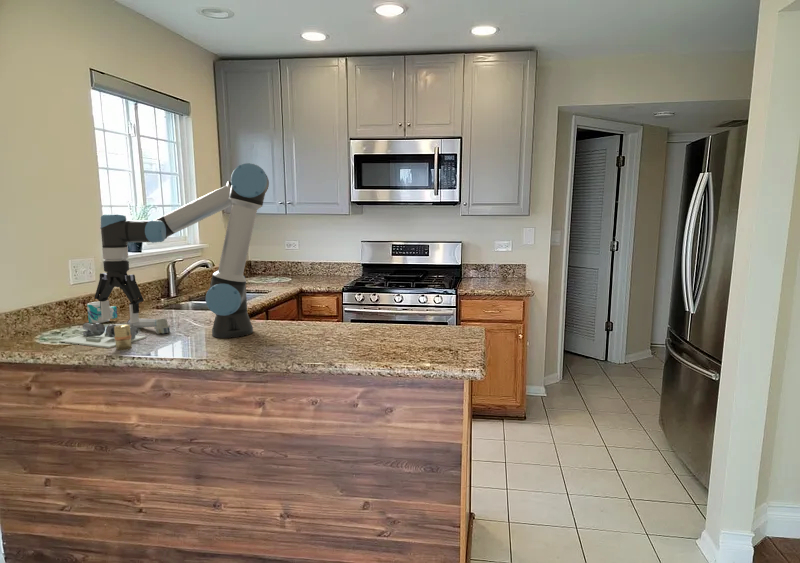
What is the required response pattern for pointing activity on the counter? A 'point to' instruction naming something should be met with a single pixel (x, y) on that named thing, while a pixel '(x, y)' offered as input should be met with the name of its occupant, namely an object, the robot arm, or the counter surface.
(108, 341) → the board
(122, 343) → the gold upright block
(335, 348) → the counter surface
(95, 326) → the shaft
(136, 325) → the grey hammer
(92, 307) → the mug
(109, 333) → the shaft
